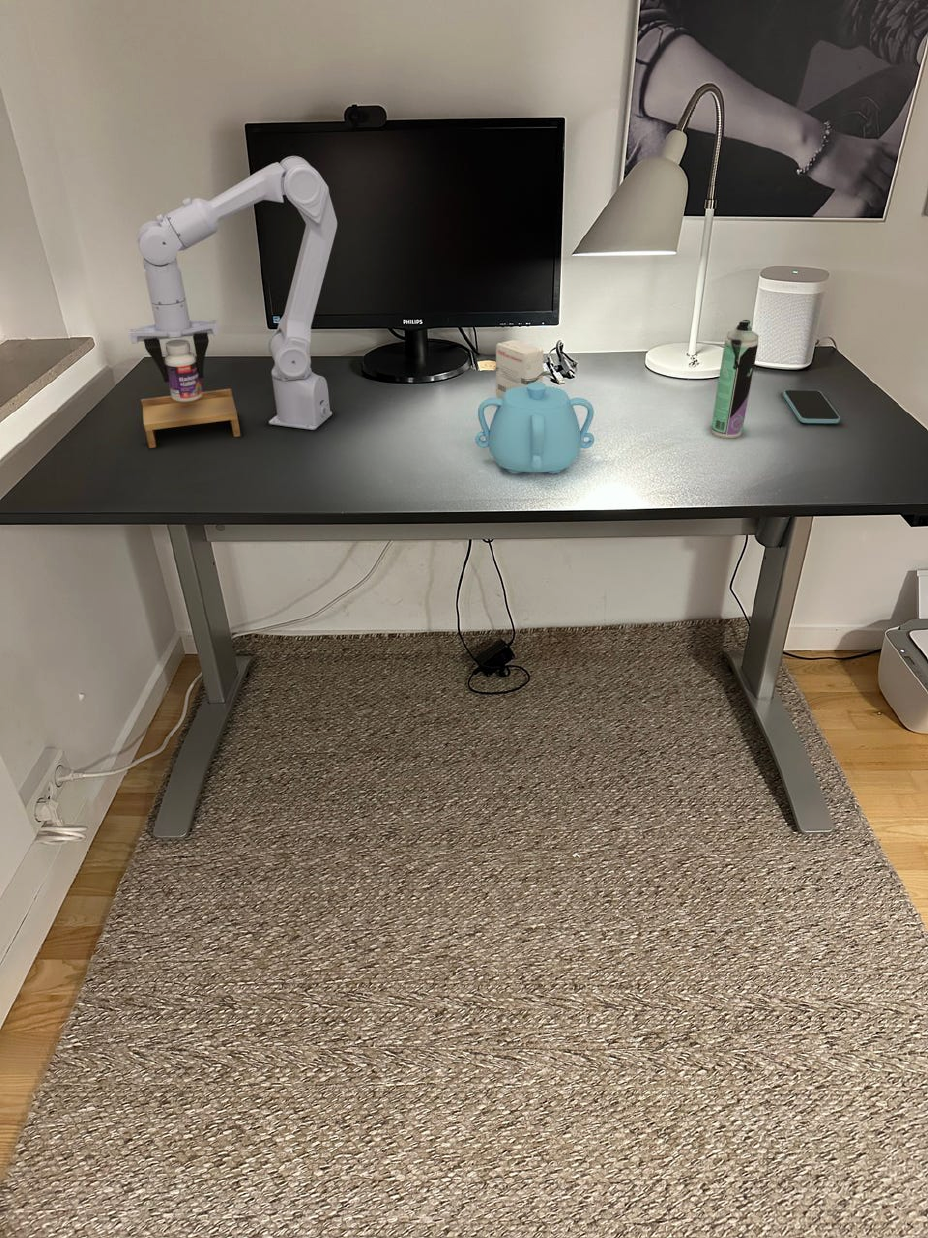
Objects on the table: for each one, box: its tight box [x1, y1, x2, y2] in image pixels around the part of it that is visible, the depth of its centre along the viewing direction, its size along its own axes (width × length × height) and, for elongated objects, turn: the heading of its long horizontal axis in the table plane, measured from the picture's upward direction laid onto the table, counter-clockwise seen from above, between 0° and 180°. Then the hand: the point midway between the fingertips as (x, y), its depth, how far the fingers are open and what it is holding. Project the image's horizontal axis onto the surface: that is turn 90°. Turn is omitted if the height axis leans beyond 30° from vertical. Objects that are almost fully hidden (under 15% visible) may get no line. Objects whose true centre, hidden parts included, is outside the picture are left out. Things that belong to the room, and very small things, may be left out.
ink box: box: [495, 339, 544, 399], centre depth 170 cm, size 9×5×12 cm, turn 39°
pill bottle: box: [164, 339, 203, 402], centre depth 159 cm, size 5×5×10 cm
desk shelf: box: [140, 388, 241, 449], centre depth 164 cm, size 16×9×6 cm, turn 107°
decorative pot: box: [474, 382, 595, 474], centre depth 151 cm, size 16×16×14 cm
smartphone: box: [782, 389, 841, 424], centre depth 171 cm, size 7×1×15 cm
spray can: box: [710, 319, 760, 439], centre depth 158 cm, size 6×6×20 cm
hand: (183, 378), depth 160 cm, fingers closed on pill bottle, 5 cm apart
